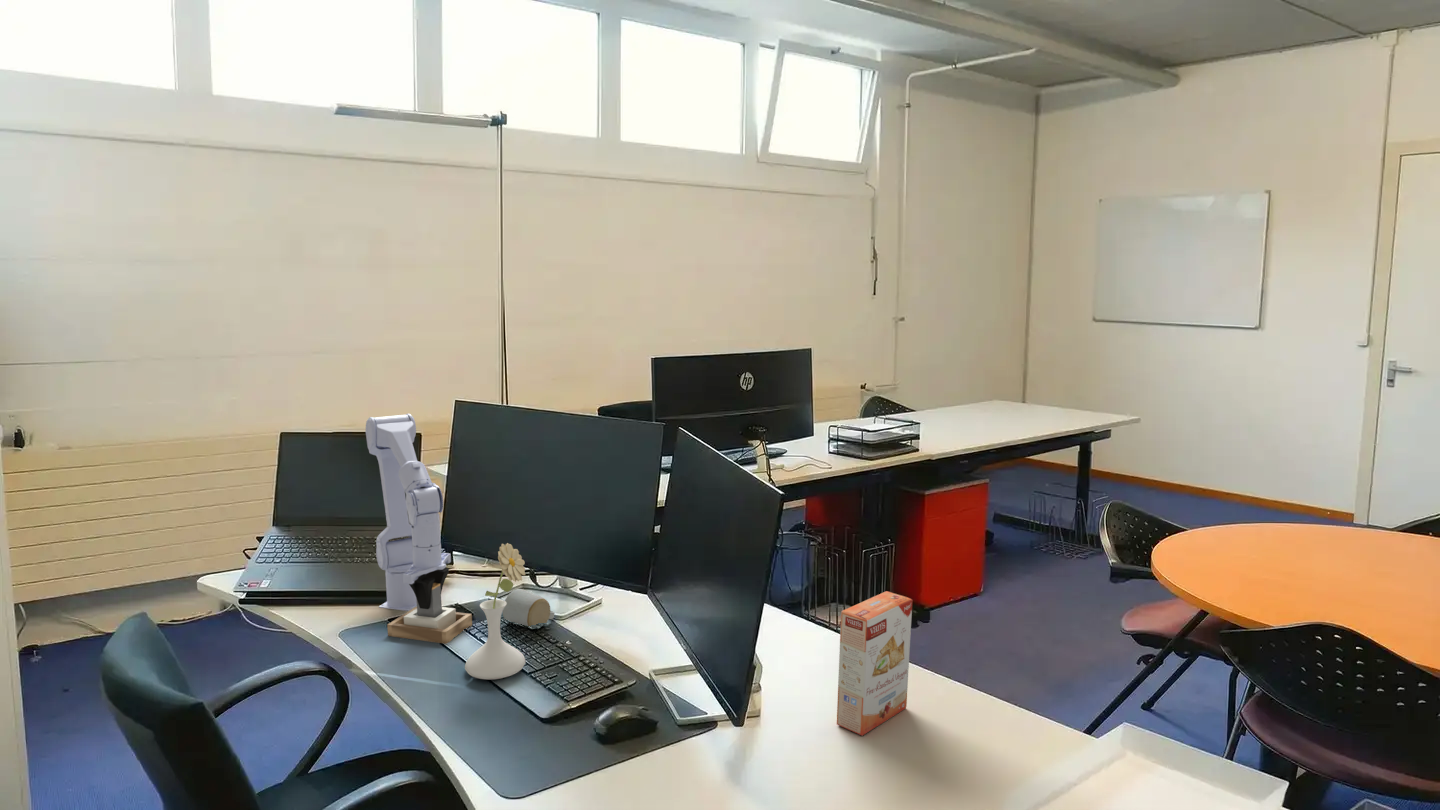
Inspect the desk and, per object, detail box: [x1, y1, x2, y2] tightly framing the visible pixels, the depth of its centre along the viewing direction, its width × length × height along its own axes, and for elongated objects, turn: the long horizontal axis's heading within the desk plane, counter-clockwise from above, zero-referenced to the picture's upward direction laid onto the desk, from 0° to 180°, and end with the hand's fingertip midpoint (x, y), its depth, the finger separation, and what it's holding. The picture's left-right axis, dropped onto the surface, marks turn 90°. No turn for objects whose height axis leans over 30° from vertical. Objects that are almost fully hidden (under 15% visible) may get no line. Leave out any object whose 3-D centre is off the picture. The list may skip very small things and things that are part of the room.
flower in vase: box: [464, 542, 526, 680], centre depth 172 cm, size 13×11×25 cm
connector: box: [416, 583, 443, 618], centre depth 191 cm, size 3×4×7 cm
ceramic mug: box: [502, 588, 555, 626], centre depth 196 cm, size 11×8×8 cm
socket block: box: [404, 606, 457, 630], centre depth 191 cm, size 7×8×4 cm
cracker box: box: [836, 590, 914, 736], centre depth 155 cm, size 14×6×21 cm, turn 136°
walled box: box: [386, 606, 473, 645], centre depth 191 cm, size 10×14×3 cm
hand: (429, 605), depth 191 cm, fingers closed on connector, 3 cm apart
